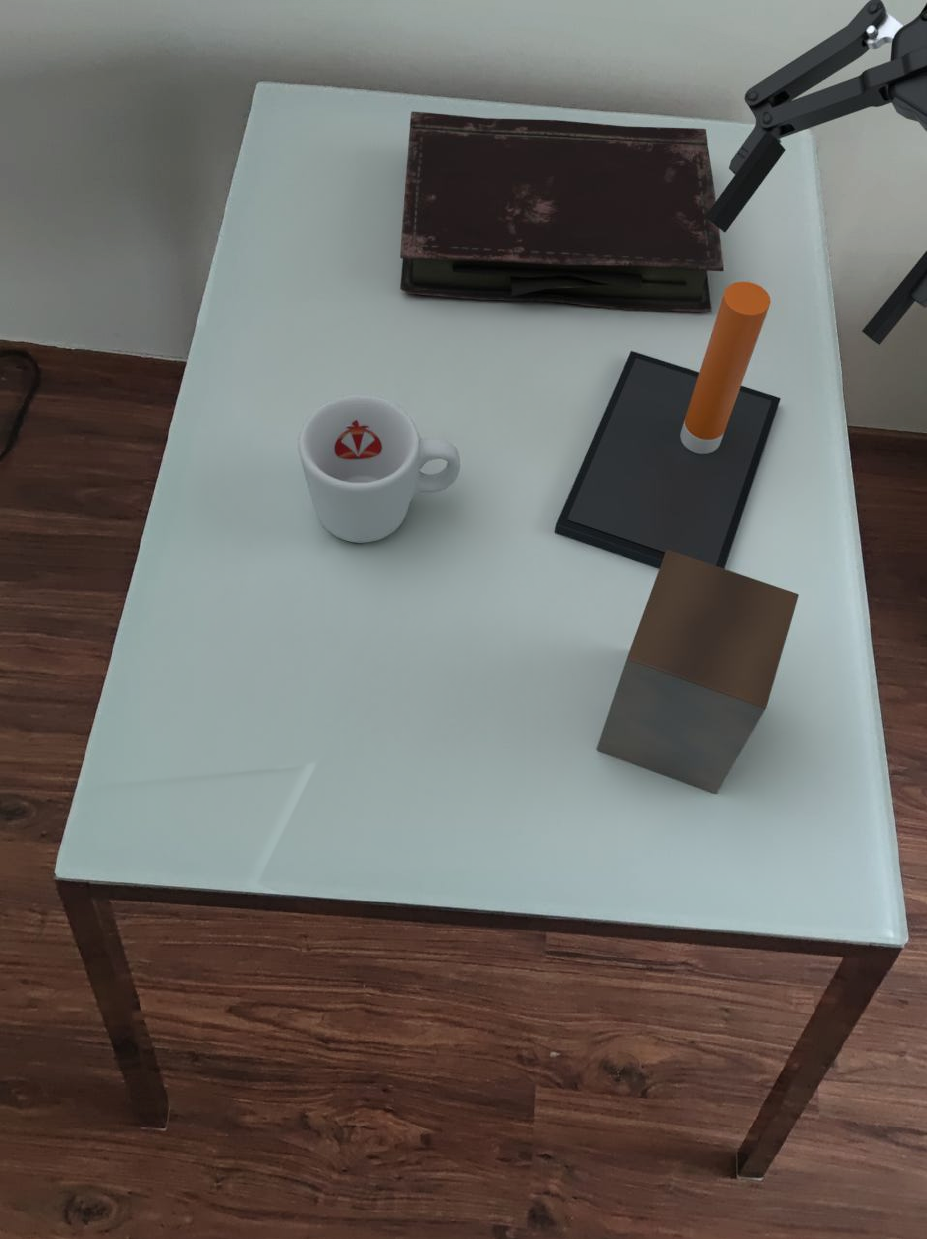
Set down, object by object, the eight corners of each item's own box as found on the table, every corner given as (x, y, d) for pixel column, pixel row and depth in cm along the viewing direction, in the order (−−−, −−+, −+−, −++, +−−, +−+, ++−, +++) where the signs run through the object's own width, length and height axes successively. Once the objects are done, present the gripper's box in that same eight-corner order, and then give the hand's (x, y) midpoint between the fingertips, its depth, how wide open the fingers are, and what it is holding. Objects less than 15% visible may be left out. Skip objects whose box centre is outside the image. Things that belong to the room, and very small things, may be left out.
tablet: (777, 406, 93) (781, 396, 92) (716, 588, 85) (720, 580, 84) (628, 359, 95) (631, 349, 94) (554, 532, 86) (555, 523, 85)
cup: (449, 460, 89) (454, 386, 82) (464, 549, 85) (470, 479, 78) (301, 471, 88) (294, 397, 81) (309, 562, 84) (302, 492, 77)
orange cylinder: (724, 429, 91) (775, 289, 79) (714, 459, 89) (764, 320, 77) (686, 417, 91) (730, 275, 79) (675, 446, 89) (718, 306, 78)
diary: (410, 152, 107) (411, 101, 102) (694, 168, 107) (706, 119, 103) (399, 305, 97) (399, 257, 93) (710, 322, 98) (725, 275, 93)
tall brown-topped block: (747, 690, 80) (799, 593, 70) (716, 794, 76) (766, 708, 66) (632, 649, 82) (666, 548, 71) (595, 750, 78) (626, 658, 67)
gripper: (1196, 107, 73) (949, 397, 80) (869, -80, 82) (673, 196, 89) (1201, 60, 66) (932, 381, 73) (844, -138, 75) (635, 165, 82)
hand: (790, 280), depth 81 cm, fingers open, 13 cm apart
